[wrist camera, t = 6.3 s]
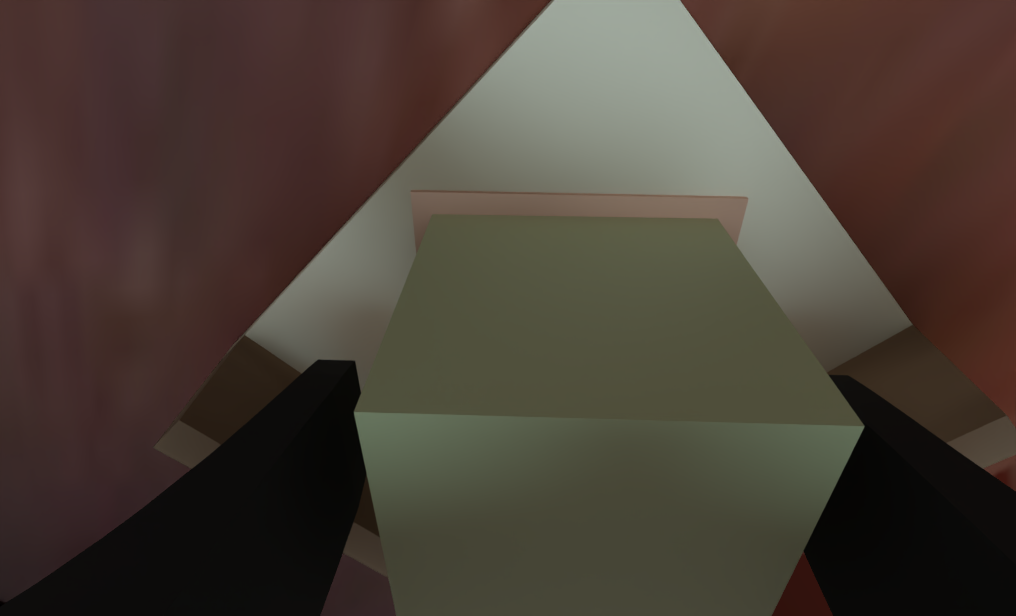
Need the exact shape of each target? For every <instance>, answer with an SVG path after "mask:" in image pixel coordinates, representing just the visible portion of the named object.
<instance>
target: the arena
mask: <svg viewBox="0 0 1016 616" xmlns="http://www.w3.org/2000/svg"><path fill="white" fill-rule="evenodd" d="M432 214H452V215H517V216H581V217H645V218H709V219H718V220H719V221H720V223H721V224H722V226H723V227H724V229H725V230H726V231H727V233H728V234H729V236H730V237H731V238H732V240H733V241H734V243H735V244H736V245H737V247H738V248H739V250H740V251H741V252H742V254H743V255H744V257H745V258H746V260H747V261H748V262H749V264H750V265H751V267H752V268H753V269H754V271H755V272H756V274H757V275H758V276H759V278H760V279H761V281H762V282H763V284H764V285H765V286H766V288H767V289H768V291H769V292H770V293H771V295H772V296H773V298H774V299H775V300H776V302H777V303H778V305H779V306H780V308H781V309H782V310H783V312H784V313H785V315H786V316H787V317H788V319H789V320H790V322H791V323H792V324H793V326H794V327H795V329H796V330H797V332H798V333H799V334H800V336H801V337H802V339H803V340H804V341H805V343H806V344H807V346H808V347H809V348H810V350H811V351H812V353H813V354H814V356H815V357H816V358H817V360H818V361H819V363H820V364H821V365H822V367H823V368H824V370H825V371H826V372H827V374H828V375H848V376H850V377H852V378H853V379H855V380H856V381H858V382H860V383H861V384H863V385H864V386H866V387H867V388H869V389H870V390H872V391H873V392H875V393H876V394H878V395H879V396H881V397H882V398H884V399H885V400H886V401H888V402H889V403H891V404H892V405H894V406H895V407H896V408H898V409H899V410H901V411H902V412H904V413H905V414H906V415H908V416H909V417H911V418H912V419H913V420H915V421H916V422H918V423H919V424H920V425H922V426H923V427H925V428H926V429H927V430H929V431H930V432H932V433H933V434H934V435H936V436H937V437H939V438H940V439H941V440H943V441H944V442H946V443H947V444H948V445H950V446H951V447H953V448H954V449H955V450H957V451H958V452H960V453H961V454H962V455H964V456H965V457H967V458H968V459H970V460H971V461H972V462H974V463H975V464H977V465H978V466H980V467H981V468H982V469H983V468H985V467H987V466H990V465H992V464H994V463H997V462H999V461H1001V460H1004V459H1006V458H1008V457H1011V456H1013V455H1015V454H1016V428H1015V427H1014V425H1013V424H1012V422H1011V421H1010V420H1009V418H1008V417H1007V415H1006V414H1005V413H1004V412H1003V411H1002V410H1001V409H1000V408H999V407H997V406H996V405H995V404H994V403H993V402H992V401H991V400H990V399H989V398H988V397H987V396H986V395H985V394H984V393H983V392H982V391H981V390H980V389H979V388H978V387H977V386H976V385H975V384H974V383H973V382H972V381H971V380H969V379H968V378H967V377H966V376H965V375H964V374H963V373H962V372H961V371H960V370H959V369H958V368H957V367H956V366H955V365H954V364H953V363H952V362H951V361H950V360H949V359H948V358H947V357H946V356H945V355H944V354H943V353H941V352H940V351H939V350H938V349H937V348H936V347H935V346H934V345H933V344H932V343H931V342H930V341H929V340H928V339H927V338H926V337H925V336H924V335H923V334H922V333H921V332H920V331H919V330H918V329H917V328H916V327H915V326H913V324H912V323H911V322H910V320H909V319H908V317H907V316H906V315H905V313H904V312H903V311H902V309H901V308H900V306H899V305H898V304H897V302H896V301H895V299H894V298H893V297H892V295H891V294H890V292H889V291H888V290H887V288H886V287H885V285H884V284H883V283H882V281H881V280H880V278H879V277H878V276H877V274H876V273H875V271H874V270H873V269H872V267H871V266H870V265H869V263H868V262H867V260H866V259H865V258H864V256H863V255H862V253H861V252H860V251H859V249H858V248H857V246H856V245H855V244H854V242H853V241H852V239H851V238H850V237H849V235H848V234H847V232H846V231H845V230H844V228H843V227H842V226H841V224H840V223H839V221H838V220H837V219H836V217H835V216H834V214H833V213H832V212H831V210H830V209H829V207H828V206H827V205H826V203H825V202H824V200H823V199H822V198H821V196H820V195H819V193H818V192H817V191H816V189H815V188H814V186H813V185H812V184H811V182H810V181H809V180H808V178H807V177H806V175H805V174H804V173H803V171H802V170H801V168H800V167H799V166H798V164H797V163H796V161H795V160H794V159H793V157H792V156H791V154H790V153H789V152H788V150H787V149H786V147H785V146H784V145H783V143H782V142H781V140H780V139H779V138H778V136H777V135H776V134H775V132H774V131H773V129H772V128H771V127H770V125H769V124H768V122H767V121H766V120H765V118H764V117H763V115H762V114H761V113H760V111H759V110H758V108H757V107H756V106H755V104H754V103H753V101H752V100H751V99H750V97H749V96H748V95H747V93H746V92H745V90H744V89H743V88H742V86H741V85H740V83H739V82H738V81H737V79H736V78H735V76H734V75H733V74H732V72H731V71H730V69H729V68H728V67H727V65H726V64H725V62H724V61H723V60H722V58H721V57H720V55H719V54H718V53H717V51H716V50H715V49H714V47H713V46H712V44H711V43H710V42H709V40H708V39H707V37H706V36H705V35H704V33H703V32H702V30H701V29H700V28H699V26H698V25H697V23H696V22H695V21H694V19H693V18H692V16H691V15H690V14H689V12H688V11H687V9H686V8H685V7H684V5H683V4H682V3H681V1H680V0H551V1H550V2H549V3H548V5H547V6H546V7H545V8H544V9H543V10H542V11H541V12H540V13H539V14H538V15H537V16H536V18H535V19H534V20H533V21H532V22H531V23H530V24H529V25H528V26H527V27H526V28H525V29H524V31H523V32H522V33H521V34H520V35H519V36H518V37H517V38H516V39H515V40H514V41H513V42H512V44H511V45H510V46H509V47H508V48H507V49H506V50H505V51H504V52H503V53H502V54H501V55H500V57H499V58H498V59H497V60H496V61H495V62H494V63H493V64H492V65H491V66H490V67H489V68H488V70H487V71H486V72H485V73H484V74H483V75H482V76H481V77H480V78H479V79H478V80H477V81H476V83H475V84H474V85H473V86H472V87H471V88H470V89H469V90H468V91H467V92H466V93H465V94H464V96H463V97H462V98H461V99H460V100H459V101H458V102H457V103H456V104H455V105H454V106H453V107H452V109H451V110H450V111H449V112H448V113H447V114H446V115H445V116H444V117H443V118H442V119H441V120H440V122H439V123H438V124H437V125H436V126H435V127H434V128H433V129H432V130H431V131H430V132H429V133H428V135H427V136H426V137H425V138H424V139H423V140H422V141H421V142H420V143H419V144H418V145H417V146H416V148H415V149H414V150H413V151H412V152H411V153H410V154H409V155H408V156H407V157H406V158H405V159H404V161H403V162H402V163H401V164H400V165H399V166H398V167H397V168H396V169H395V170H394V171H393V172H392V174H391V175H390V176H389V177H388V178H387V179H386V180H385V181H384V182H383V183H382V184H381V185H380V187H379V188H378V189H377V190H376V191H375V192H374V193H373V194H372V195H371V196H370V197H369V198H368V200H367V201H366V202H365V203H364V204H363V205H362V206H361V207H360V208H359V209H358V210H357V211H356V212H355V214H354V215H353V216H352V217H351V218H350V219H349V220H348V221H347V222H346V223H345V224H344V225H343V227H342V228H341V229H340V230H339V231H338V232H337V233H336V234H335V235H334V236H333V237H332V238H331V240H330V241H329V242H328V243H327V244H326V245H325V246H324V247H323V248H322V249H321V250H320V251H319V253H318V254H317V255H316V256H315V257H314V258H313V259H312V260H311V261H310V262H309V263H308V264H307V266H306V267H305V268H304V269H303V270H302V271H301V272H300V273H299V274H298V275H297V276H296V277H295V279H294V280H293V281H292V282H291V283H290V284H289V285H288V286H287V287H286V288H285V289H284V290H283V292H282V293H281V294H280V295H279V296H278V297H277V298H276V299H275V300H274V301H273V302H272V303H271V305H270V306H269V307H268V308H267V309H266V310H265V311H264V312H263V313H262V314H261V315H260V316H259V318H258V319H257V320H256V321H255V322H254V323H253V324H252V325H251V326H250V327H249V328H248V329H247V331H246V332H245V333H244V334H243V335H242V336H241V337H240V338H239V339H238V340H237V341H236V342H235V344H234V345H233V346H232V347H231V348H230V349H229V351H228V352H227V353H226V355H225V356H224V357H223V358H222V360H221V361H220V362H219V364H218V365H217V366H216V367H215V369H214V370H213V371H212V373H211V374H210V375H209V376H208V378H207V379H206V380H205V381H204V383H203V384H202V385H201V387H200V388H199V389H198V390H197V392H196V393H195V394H194V396H193V397H192V398H191V399H190V401H189V402H188V403H187V405H186V406H185V407H184V408H183V410H182V411H181V412H180V414H179V415H178V416H177V417H176V419H175V420H174V421H173V423H172V424H171V425H170V426H169V428H168V429H167V430H166V432H165V433H164V434H163V435H162V437H161V438H160V439H159V441H158V442H157V443H156V444H155V446H154V447H153V448H155V449H156V450H158V451H160V452H162V453H164V454H165V455H167V456H169V457H171V458H173V459H174V460H176V461H178V462H180V463H182V464H184V465H185V466H187V467H189V468H191V469H192V468H194V467H195V466H196V465H197V464H199V463H200V462H201V461H202V460H204V459H205V458H206V457H207V456H209V455H210V454H211V453H212V452H213V451H215V450H216V449H217V448H218V447H219V446H220V445H222V444H223V443H224V442H225V441H226V440H227V439H228V438H230V437H231V436H232V435H233V434H234V433H235V432H237V431H238V430H239V429H240V428H241V427H242V426H243V425H245V424H246V423H247V422H248V421H249V420H250V419H251V418H253V417H254V416H255V415H256V414H257V413H258V412H259V411H260V410H262V409H263V408H264V407H265V406H266V405H267V404H268V403H269V402H271V401H272V400H273V399H274V398H275V397H276V396H277V395H278V394H279V393H281V392H282V391H283V390H284V389H285V388H286V387H287V386H288V385H289V384H291V383H292V382H293V381H294V380H295V379H296V378H297V377H298V376H299V375H301V374H302V373H303V372H304V371H305V370H306V369H307V368H308V367H310V366H311V365H312V364H313V363H314V362H316V361H317V360H318V359H320V360H354V361H355V363H356V368H357V374H358V379H359V384H360V390H361V392H362V390H363V387H364V385H365V382H366V380H367V377H368V375H369V372H370V370H371V367H372V365H373V362H374V360H375V357H376V355H377V352H378V350H379V347H380V345H381V342H382V340H383V337H384V335H385V332H386V330H387V327H388V325H389V322H390V319H391V317H392V314H393V312H394V309H395V307H396V304H397V302H398V299H399V297H400V294H401V292H402V289H403V287H404V284H405V282H406V279H407V277H408V274H409V272H410V269H411V267H412V264H413V262H414V259H415V257H416V254H417V251H418V249H419V246H420V244H421V241H422V239H423V236H424V234H425V231H426V229H427V226H428V224H429V221H430V219H431V216H432ZM343 553H344V554H346V555H348V556H350V557H351V558H353V559H355V560H357V561H359V562H360V563H362V564H364V565H366V566H368V567H369V568H371V569H373V570H375V571H377V572H379V573H380V574H382V575H384V576H386V577H388V573H387V568H386V564H385V559H384V554H383V549H382V545H381V540H380V535H379V530H378V525H377V521H376V516H375V511H374V506H373V502H372V497H371V492H370V487H369V482H368V478H367V474H366V478H365V483H364V487H363V491H362V495H361V499H360V503H359V508H358V511H357V513H356V516H355V519H354V522H353V525H352V528H351V531H350V534H349V536H348V539H347V542H346V545H345V548H344V551H343Z"/></svg>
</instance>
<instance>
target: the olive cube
mask: <svg viewBox="0 0 1016 616" xmlns="http://www.w3.org/2000/svg"><path fill="white" fill-rule="evenodd" d="M354 416H355V420H356V425H357V430H358V435H359V439H360V444H361V449H362V454H363V459H364V463H365V468H366V473H367V478H368V482H369V487H370V492H371V497H372V502H373V506H374V511H375V516H376V521H377V525H378V530H379V535H380V540H381V545H382V549H383V554H384V559H385V564H386V568H387V573H388V578H389V583H390V588H391V592H392V597H393V602H394V607H395V611H396V616H771V615H772V613H773V611H774V609H775V607H776V605H777V603H778V601H779V599H780V597H781V595H782V593H783V591H784V589H785V587H786V585H787V583H788V581H789V579H790V577H791V575H792V573H793V571H794V569H795V567H796V564H797V563H798V561H799V559H800V557H801V555H802V553H803V551H804V548H805V546H806V544H807V542H808V540H809V538H810V536H811V534H812V532H813V530H814V528H815V526H816V524H817V522H818V520H819V518H820V516H821V514H822V512H823V510H824V508H825V506H826V504H827V502H828V500H829V498H830V496H831V494H832V492H833V490H834V488H835V486H836V484H837V481H838V479H839V477H840V475H841V473H842V471H843V469H844V467H845V465H846V463H847V461H848V459H849V457H850V455H851V453H852V451H853V449H854V447H855V445H856V443H857V441H858V439H859V437H860V435H861V433H862V431H863V429H864V427H865V426H864V425H863V423H862V422H861V420H860V419H859V418H858V416H857V415H856V413H855V412H854V411H853V409H852V408H851V406H850V405H849V403H848V402H847V401H846V399H845V398H844V396H843V395H842V394H841V392H840V391H839V389H838V388H837V387H836V385H835V384H834V382H833V381H832V379H831V378H830V377H829V375H828V374H827V372H826V371H825V370H824V368H823V367H822V365H821V364H820V363H819V361H818V360H817V358H816V357H815V356H814V354H813V353H812V351H811V350H810V348H809V347H808V346H807V344H806V343H805V341H804V340H803V339H802V337H801V336H800V334H799V333H798V332H797V330H796V329H795V327H794V326H793V324H792V323H791V322H790V320H789V319H788V317H787V316H786V315H785V313H784V312H783V310H782V309H781V308H780V306H779V305H778V303H777V302H776V300H775V299H774V298H773V296H772V295H771V293H770V292H769V291H768V289H767V288H766V286H765V285H764V284H763V282H762V281H761V279H760V278H759V276H758V275H757V274H756V272H755V271H754V269H753V268H752V267H751V265H750V264H749V262H748V261H747V260H746V258H745V257H744V255H743V254H742V252H741V251H740V250H739V248H738V247H737V245H736V244H735V243H734V241H733V240H732V238H731V237H730V236H729V234H728V233H727V231H726V230H725V229H724V227H723V226H722V224H721V223H720V221H719V220H718V219H709V218H645V217H581V216H517V215H452V214H432V216H431V219H430V221H429V224H428V226H427V229H426V231H425V234H424V236H423V239H422V241H421V244H420V246H419V249H418V251H417V254H416V257H415V259H414V262H413V264H412V267H411V269H410V272H409V274H408V277H407V279H406V282H405V284H404V287H403V289H402V292H401V294H400V297H399V299H398V302H397V304H396V307H395V309H394V312H393V314H392V317H391V319H390V322H389V325H388V327H387V330H386V332H385V335H384V337H383V340H382V342H381V345H380V347H379V350H378V352H377V355H376V357H375V360H374V362H373V365H372V367H371V370H370V372H369V375H368V377H367V380H366V382H365V385H364V387H363V390H362V392H361V395H360V398H359V400H358V403H357V405H356V408H355V410H354Z"/></svg>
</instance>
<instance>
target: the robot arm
mask: <svg viewBox="0 0 1016 616" xmlns="http://www.w3.org/2000/svg"><path fill="white" fill-rule="evenodd" d="M829 377H830V378H831V379H832V381H833V382H834V384H835V385H836V387H837V388H838V389H839V391H840V392H841V394H842V395H843V396H844V398H845V399H846V401H847V402H848V403H849V405H850V406H851V408H852V409H853V411H854V412H855V413H856V415H857V416H858V418H859V419H860V420H861V422H862V423H863V425H864V426H865V427H864V429H863V431H862V433H861V435H860V437H859V439H858V441H857V443H856V445H855V447H854V449H853V451H852V453H851V455H850V457H849V459H848V461H847V463H846V465H845V467H844V469H843V471H842V473H841V475H840V477H839V479H838V481H837V484H836V486H835V488H834V490H833V492H832V494H831V496H830V498H829V500H828V502H827V504H826V506H825V508H824V510H823V512H822V514H821V516H820V518H819V520H818V522H817V524H816V526H815V528H814V530H813V532H812V534H811V536H810V538H809V540H808V542H807V544H806V546H805V548H804V553H805V555H806V558H807V560H808V562H809V564H810V566H811V569H812V571H813V573H814V575H815V577H816V580H817V582H818V584H819V586H820V588H821V590H822V593H823V595H824V597H825V599H826V601H827V603H828V605H829V608H830V610H831V612H832V614H833V616H1016V491H1014V490H1013V489H1011V488H1010V487H1008V486H1007V485H1005V484H1004V483H1002V482H1001V481H1000V480H998V479H997V478H995V477H994V476H992V475H991V474H990V473H988V472H987V471H985V470H984V469H982V468H981V467H980V466H978V465H977V464H975V463H974V462H972V461H971V460H970V459H968V458H967V457H965V456H964V455H962V454H961V453H960V452H958V451H957V450H955V449H954V448H953V447H951V446H950V445H948V444H947V443H946V442H944V441H943V440H941V439H940V438H939V437H937V436H936V435H934V434H933V433H932V432H930V431H929V430H927V429H926V428H925V427H923V426H922V425H920V424H919V423H918V422H916V421H915V420H913V419H912V418H911V417H909V416H908V415H906V414H905V413H904V412H902V411H901V410H899V409H898V408H896V407H895V406H894V405H892V404H891V403H889V402H888V401H886V400H885V399H884V398H882V397H881V396H879V395H878V394H876V393H875V392H873V391H872V390H870V389H869V388H867V387H866V386H864V385H863V384H861V383H860V382H858V381H856V380H855V379H853V378H852V377H850V376H848V375H829ZM360 395H361V390H360V384H359V379H358V374H357V368H356V363H355V361H354V360H320V359H318V360H317V361H316V362H314V363H313V364H312V365H311V366H310V367H308V368H307V369H306V370H305V371H304V372H303V373H302V374H301V375H299V376H298V377H297V378H296V379H295V380H294V381H293V382H292V383H291V384H289V385H288V386H287V387H286V388H285V389H284V390H283V391H282V392H281V393H279V394H278V395H277V396H276V397H275V398H274V399H273V400H272V401H271V402H269V403H268V404H267V405H266V406H265V407H264V408H263V409H262V410H260V411H259V412H258V413H257V414H256V415H255V416H254V417H253V418H251V419H250V420H249V421H248V422H247V423H246V424H245V425H243V426H242V427H241V428H240V429H239V430H238V431H237V432H235V433H234V434H233V435H232V436H231V437H230V438H228V439H227V440H226V441H225V442H224V443H223V444H222V445H220V446H219V447H218V448H217V449H216V450H215V451H213V452H212V453H211V454H210V455H209V456H207V457H206V458H205V459H204V460H202V461H201V462H200V463H199V464H197V465H196V466H195V467H194V468H192V469H191V470H190V471H189V472H187V473H186V474H185V475H184V476H182V477H181V478H180V479H179V480H177V481H176V482H175V483H174V484H172V485H171V486H170V487H169V488H167V489H166V490H165V491H164V492H162V493H161V494H160V495H159V496H157V497H156V498H155V499H154V500H152V501H151V502H150V503H149V504H147V505H146V506H145V507H144V508H142V509H141V510H140V511H138V512H137V513H136V514H134V515H133V516H132V517H130V518H129V519H128V520H126V521H125V522H124V523H122V524H121V525H119V526H118V527H117V528H115V529H114V530H113V531H111V532H110V533H109V534H107V535H106V536H104V537H103V538H102V539H100V540H99V541H97V542H96V543H95V544H93V545H92V546H90V547H89V548H87V549H86V550H84V551H83V552H82V553H80V554H79V555H77V556H76V557H74V558H73V559H72V560H70V561H69V562H67V563H66V564H64V565H63V566H62V567H60V568H59V569H57V570H56V571H54V572H53V573H51V574H50V575H48V576H47V577H45V578H44V579H42V580H41V581H39V582H38V583H36V584H35V585H33V586H32V587H30V588H29V589H27V590H26V591H24V592H22V593H21V594H19V595H18V596H16V597H15V598H13V599H11V600H10V601H8V602H7V603H5V604H4V605H2V606H0V616H320V614H321V612H322V609H323V606H324V603H325V601H326V598H327V595H328V592H329V589H330V587H331V584H332V581H333V578H334V576H335V573H336V570H337V567H338V564H339V562H340V559H341V556H342V553H343V551H344V548H345V545H346V542H347V539H348V536H349V534H350V531H351V528H352V525H353V522H354V519H355V516H356V513H357V511H358V508H359V503H360V499H361V495H362V491H363V487H364V483H365V478H366V474H367V473H366V468H365V463H364V459H363V454H362V449H361V444H360V439H359V435H358V430H357V425H356V420H355V416H354V410H355V408H356V405H357V403H358V400H359V398H360Z"/></svg>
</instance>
